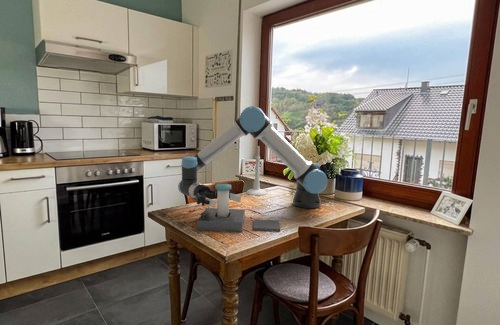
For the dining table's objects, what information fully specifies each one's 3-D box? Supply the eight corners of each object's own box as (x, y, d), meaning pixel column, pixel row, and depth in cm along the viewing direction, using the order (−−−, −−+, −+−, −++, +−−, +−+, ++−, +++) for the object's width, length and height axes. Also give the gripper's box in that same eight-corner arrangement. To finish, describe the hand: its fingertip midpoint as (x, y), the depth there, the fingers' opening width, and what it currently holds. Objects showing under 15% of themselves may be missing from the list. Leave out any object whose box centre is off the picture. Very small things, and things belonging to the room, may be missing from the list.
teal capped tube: (231, 221, 132) (232, 183, 130) (229, 226, 125) (230, 187, 123) (216, 220, 132) (216, 183, 130) (213, 225, 126) (214, 186, 123)
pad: (278, 222, 132) (278, 220, 132) (280, 231, 121) (280, 229, 121) (254, 221, 133) (254, 219, 133) (253, 230, 122) (253, 227, 122)
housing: (244, 217, 137) (245, 209, 137) (241, 232, 120) (241, 222, 119) (206, 216, 138) (206, 207, 138) (197, 230, 120) (197, 220, 120)
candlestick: (242, 193, 185) (243, 145, 181) (255, 189, 195) (256, 144, 191) (258, 196, 177) (259, 146, 173) (270, 193, 187) (272, 145, 182)
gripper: (221, 195, 149) (249, 205, 134) (176, 203, 133) (203, 215, 117) (221, 181, 148) (249, 189, 133) (176, 187, 132) (203, 197, 116)
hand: (227, 201), depth 125 cm, fingers open, 12 cm apart
